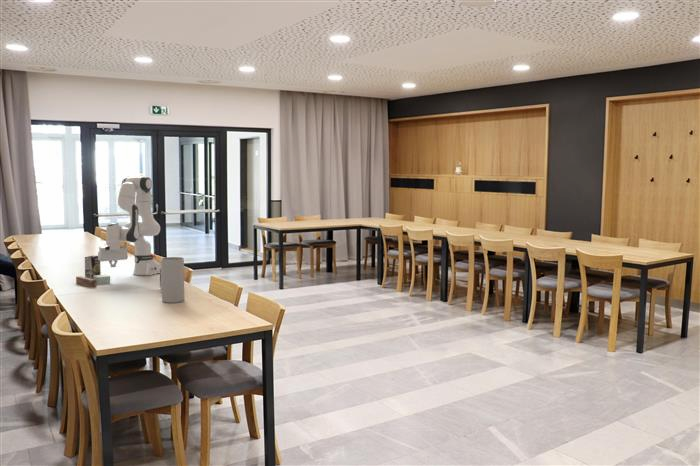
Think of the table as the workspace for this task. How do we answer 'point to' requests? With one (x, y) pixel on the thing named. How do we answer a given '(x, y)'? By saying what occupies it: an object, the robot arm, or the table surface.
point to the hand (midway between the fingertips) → (113, 267)
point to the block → (102, 279)
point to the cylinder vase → (172, 279)
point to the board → (86, 281)
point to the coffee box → (92, 266)
